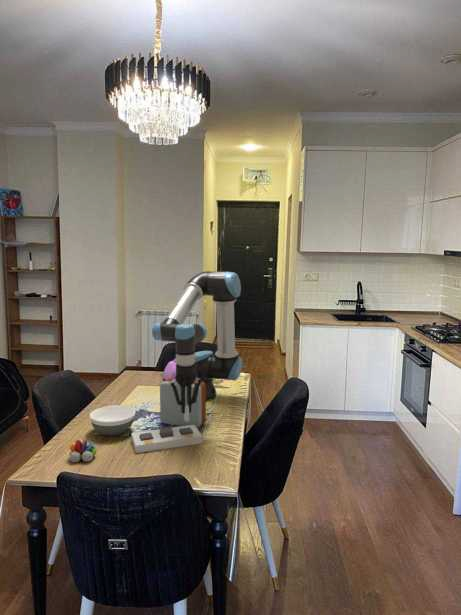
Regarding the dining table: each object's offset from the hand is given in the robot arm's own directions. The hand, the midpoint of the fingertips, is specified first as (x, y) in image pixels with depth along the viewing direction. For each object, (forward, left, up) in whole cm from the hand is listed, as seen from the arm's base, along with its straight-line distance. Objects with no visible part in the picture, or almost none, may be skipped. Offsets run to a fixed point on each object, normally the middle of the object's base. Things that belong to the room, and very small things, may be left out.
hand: (186, 420), depth 188 cm
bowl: (+27, -17, -8) cm, 33 cm away
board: (+8, 0, -8) cm, 11 cm away
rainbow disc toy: (+40, +4, -8) cm, 41 cm away
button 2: (0, 0, -7) cm, 7 cm away
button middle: (+8, 0, -6) cm, 10 cm away
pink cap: (-15, -80, -8) cm, 81 cm away
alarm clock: (-3, -17, -8) cm, 19 cm away
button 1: (+16, 0, -7) cm, 18 cm away
